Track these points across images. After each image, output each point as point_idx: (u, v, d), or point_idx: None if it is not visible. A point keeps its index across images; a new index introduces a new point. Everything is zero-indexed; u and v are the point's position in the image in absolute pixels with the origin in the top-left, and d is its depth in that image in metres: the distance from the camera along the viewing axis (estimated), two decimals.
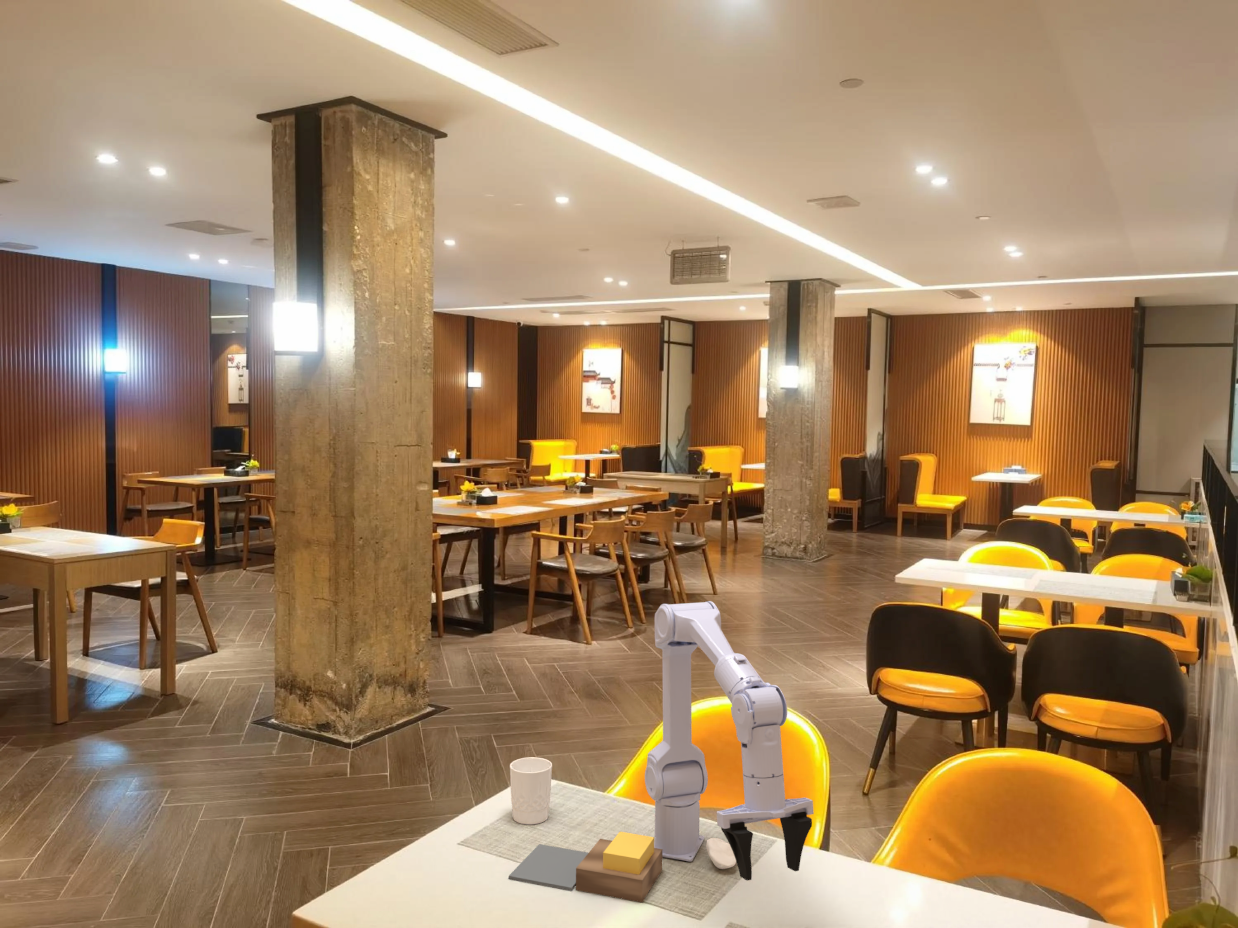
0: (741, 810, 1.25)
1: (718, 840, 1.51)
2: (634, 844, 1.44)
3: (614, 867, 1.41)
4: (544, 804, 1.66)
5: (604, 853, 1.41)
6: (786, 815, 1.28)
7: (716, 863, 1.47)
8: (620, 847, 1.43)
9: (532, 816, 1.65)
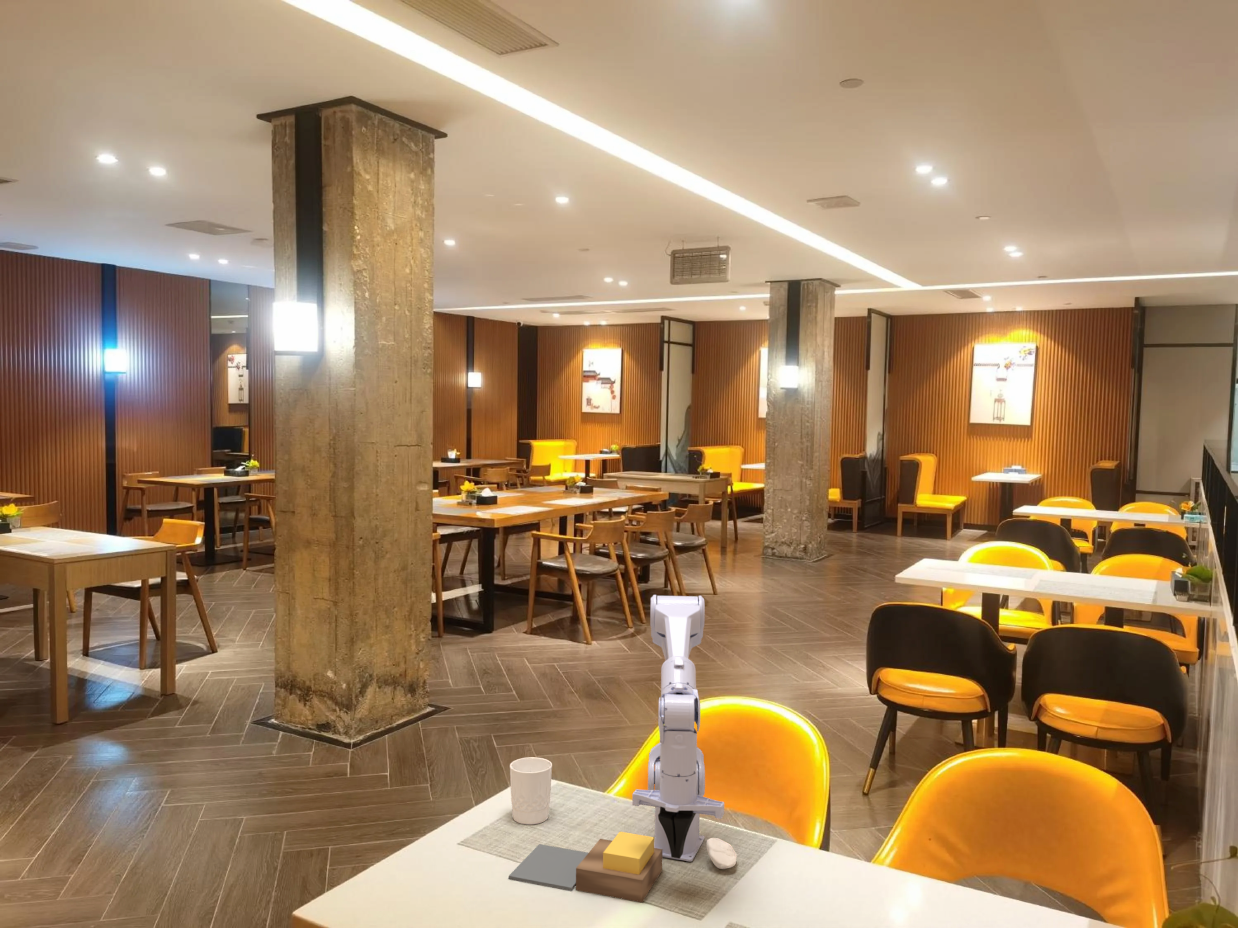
0: (654, 795, 1.42)
1: (718, 840, 1.51)
2: (634, 844, 1.44)
3: (614, 867, 1.41)
4: (544, 804, 1.66)
5: (604, 853, 1.41)
6: (696, 811, 1.40)
7: (716, 863, 1.47)
8: (620, 847, 1.43)
9: (532, 816, 1.65)
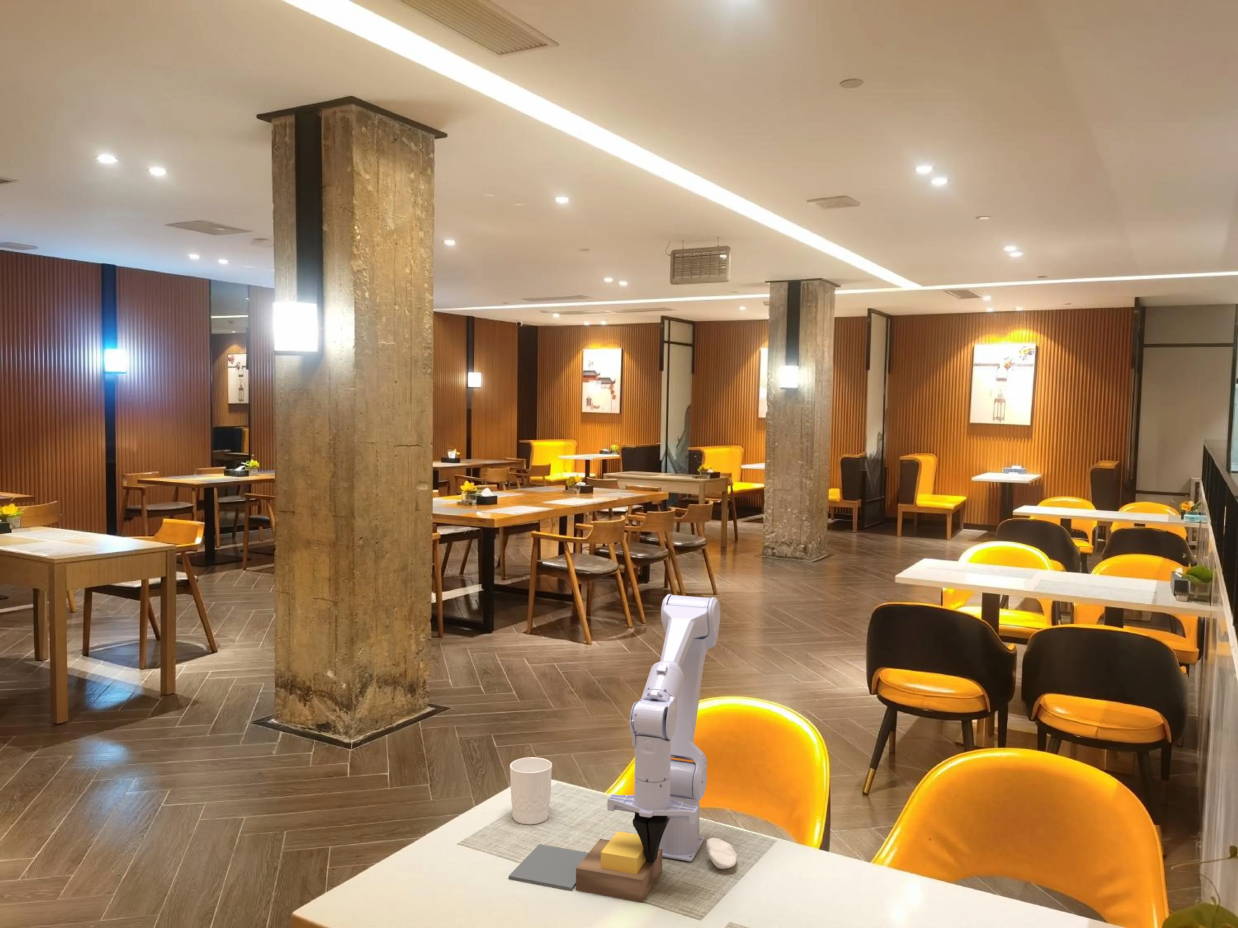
0: (628, 800, 1.44)
1: (718, 840, 1.51)
2: (632, 844, 1.44)
3: (612, 867, 1.41)
4: (544, 804, 1.66)
5: (602, 853, 1.41)
6: (670, 816, 1.41)
7: (716, 863, 1.47)
8: (618, 847, 1.43)
9: (532, 816, 1.65)
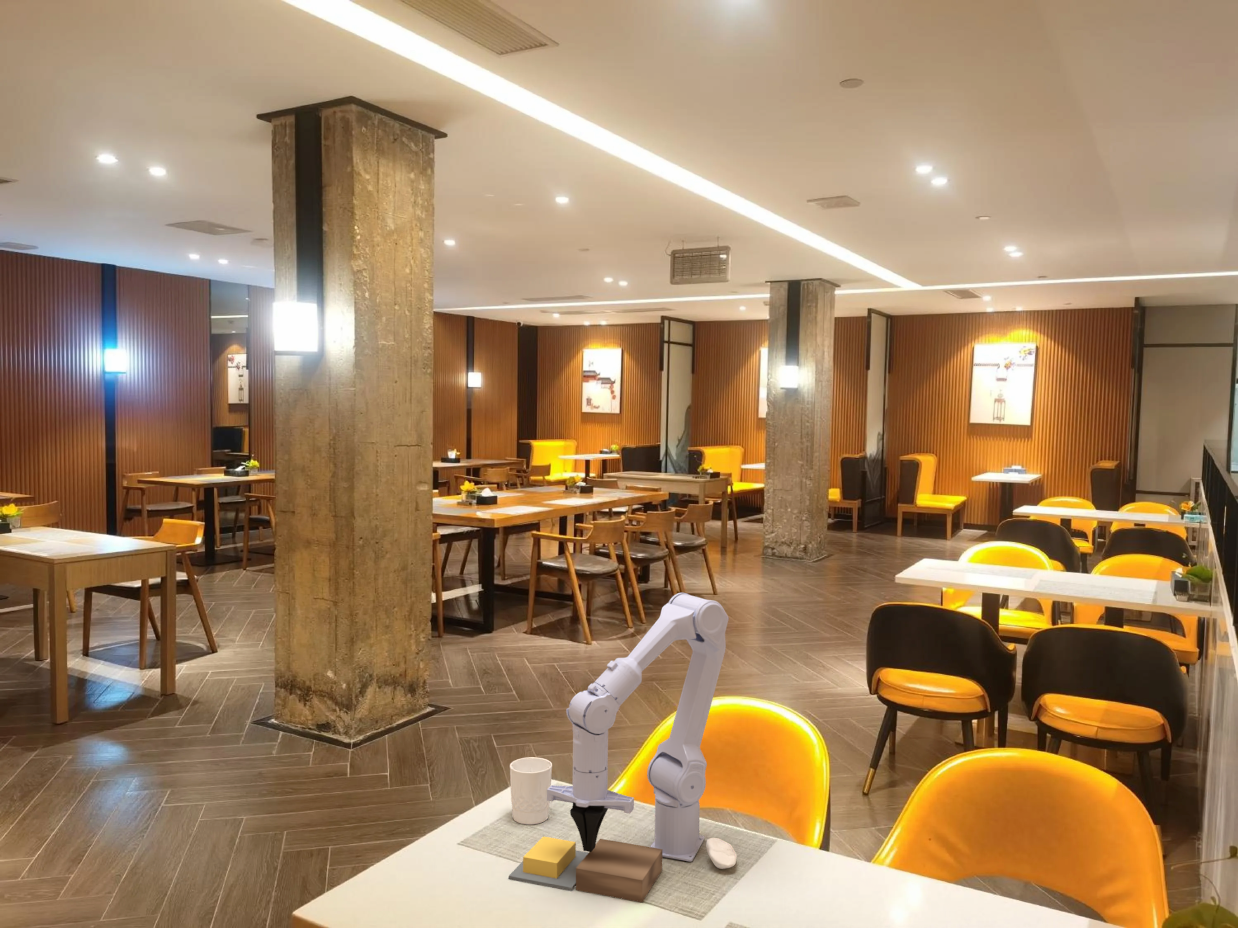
0: (567, 790, 1.47)
1: (718, 840, 1.51)
2: None
3: (546, 863, 1.45)
4: (544, 804, 1.66)
5: (555, 876, 1.44)
6: (607, 807, 1.45)
7: (716, 863, 1.47)
8: None
9: (532, 816, 1.65)
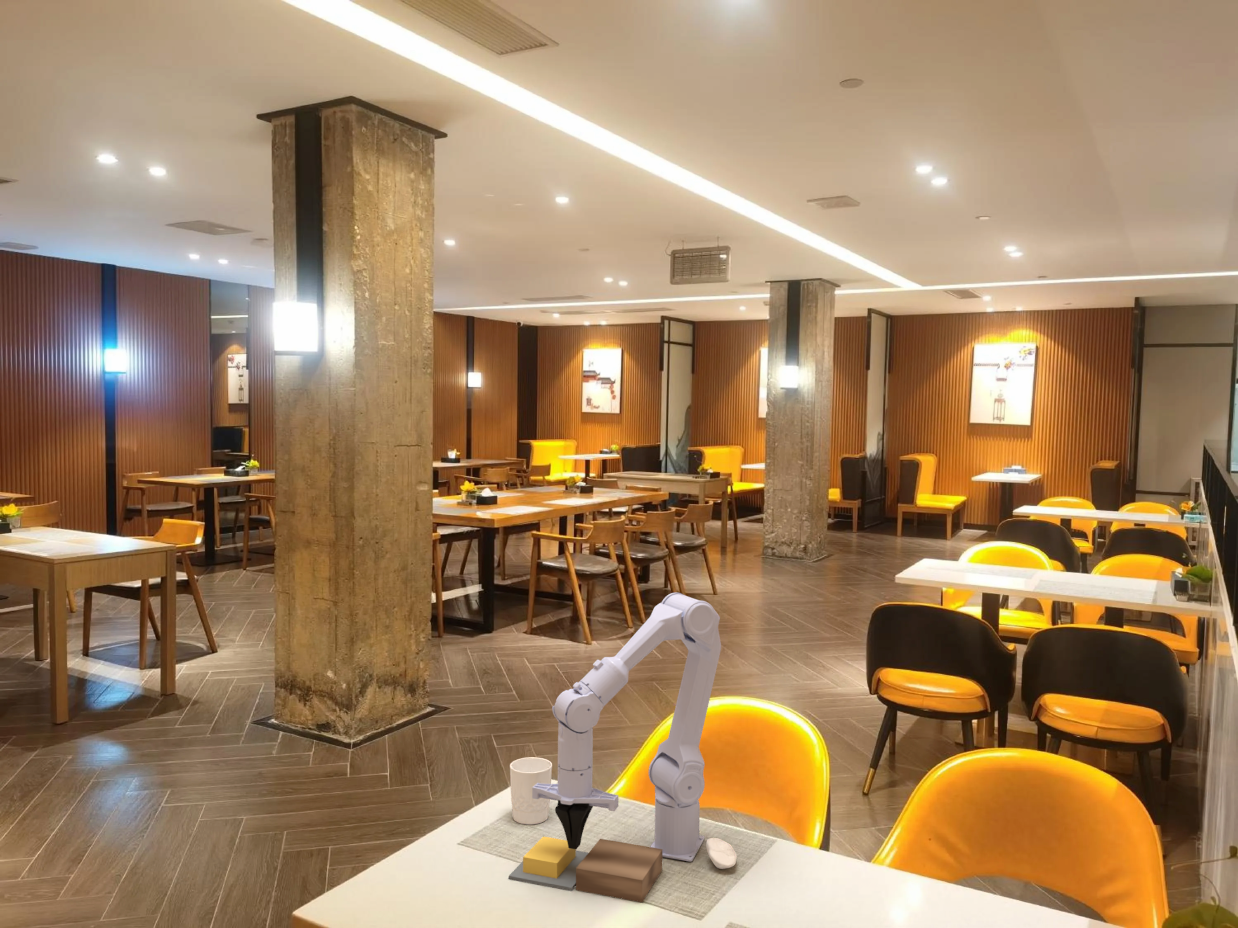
0: (552, 788, 1.48)
1: (718, 840, 1.51)
2: None
3: (546, 863, 1.45)
4: (544, 804, 1.66)
5: (555, 876, 1.44)
6: (592, 804, 1.46)
7: (716, 863, 1.47)
8: None
9: (532, 816, 1.65)
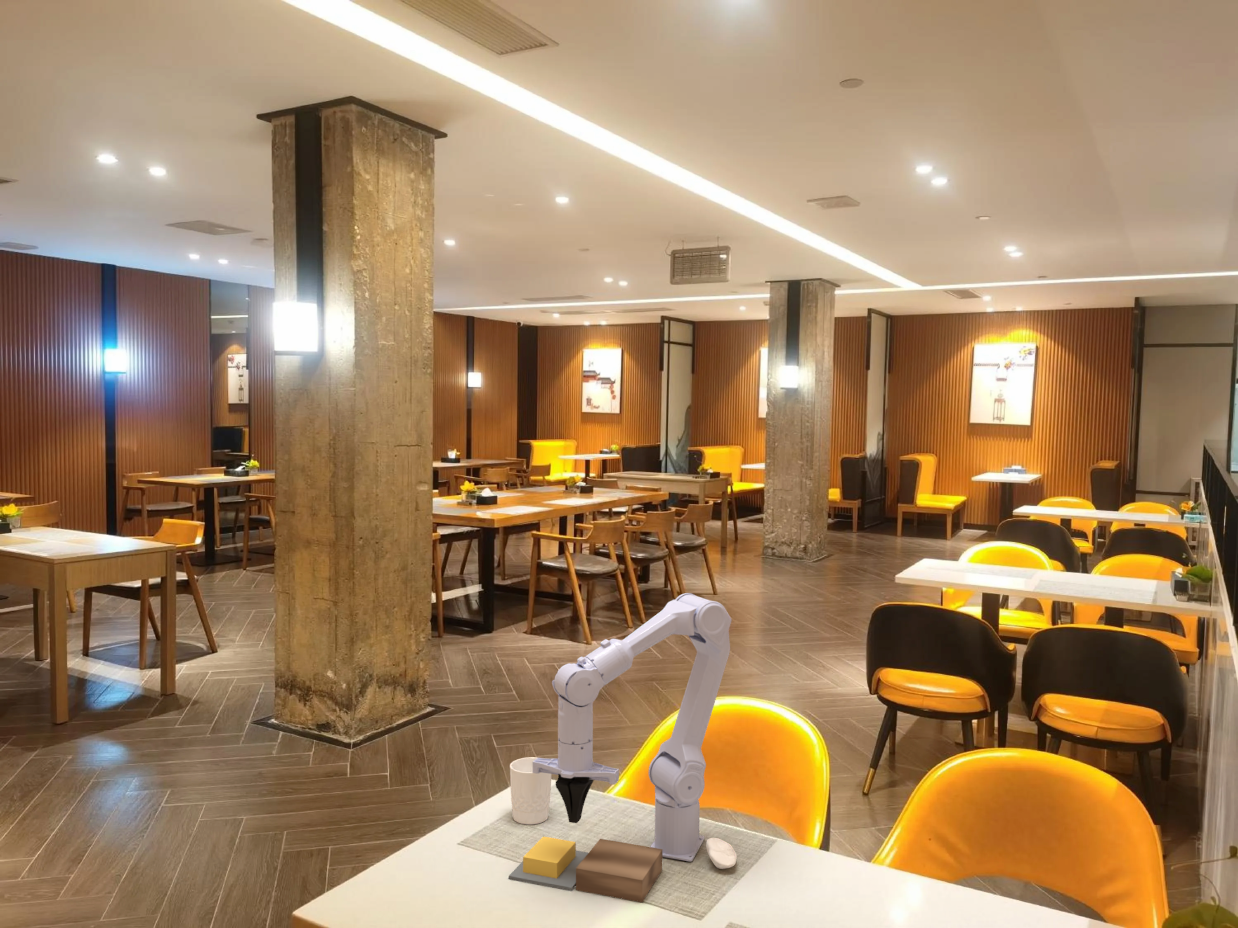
0: (553, 762, 1.48)
1: (718, 840, 1.51)
2: None
3: (546, 863, 1.45)
4: (544, 804, 1.66)
5: (555, 876, 1.44)
6: (592, 778, 1.46)
7: (716, 863, 1.47)
8: None
9: (532, 816, 1.65)
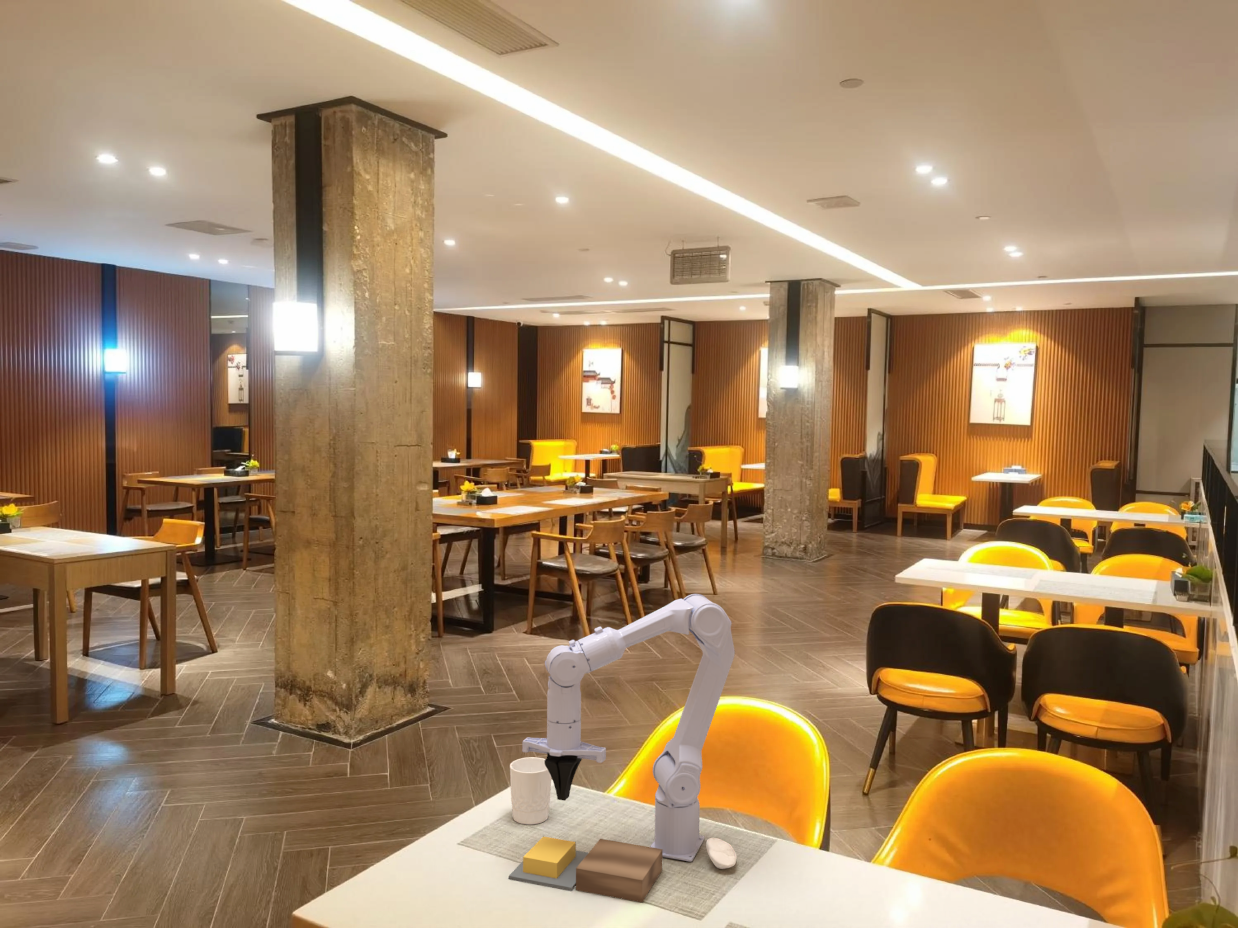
0: (542, 742, 1.52)
1: (718, 840, 1.51)
2: None
3: (546, 863, 1.45)
4: (544, 804, 1.66)
5: (555, 876, 1.44)
6: (580, 757, 1.50)
7: (716, 863, 1.47)
8: None
9: (532, 816, 1.65)
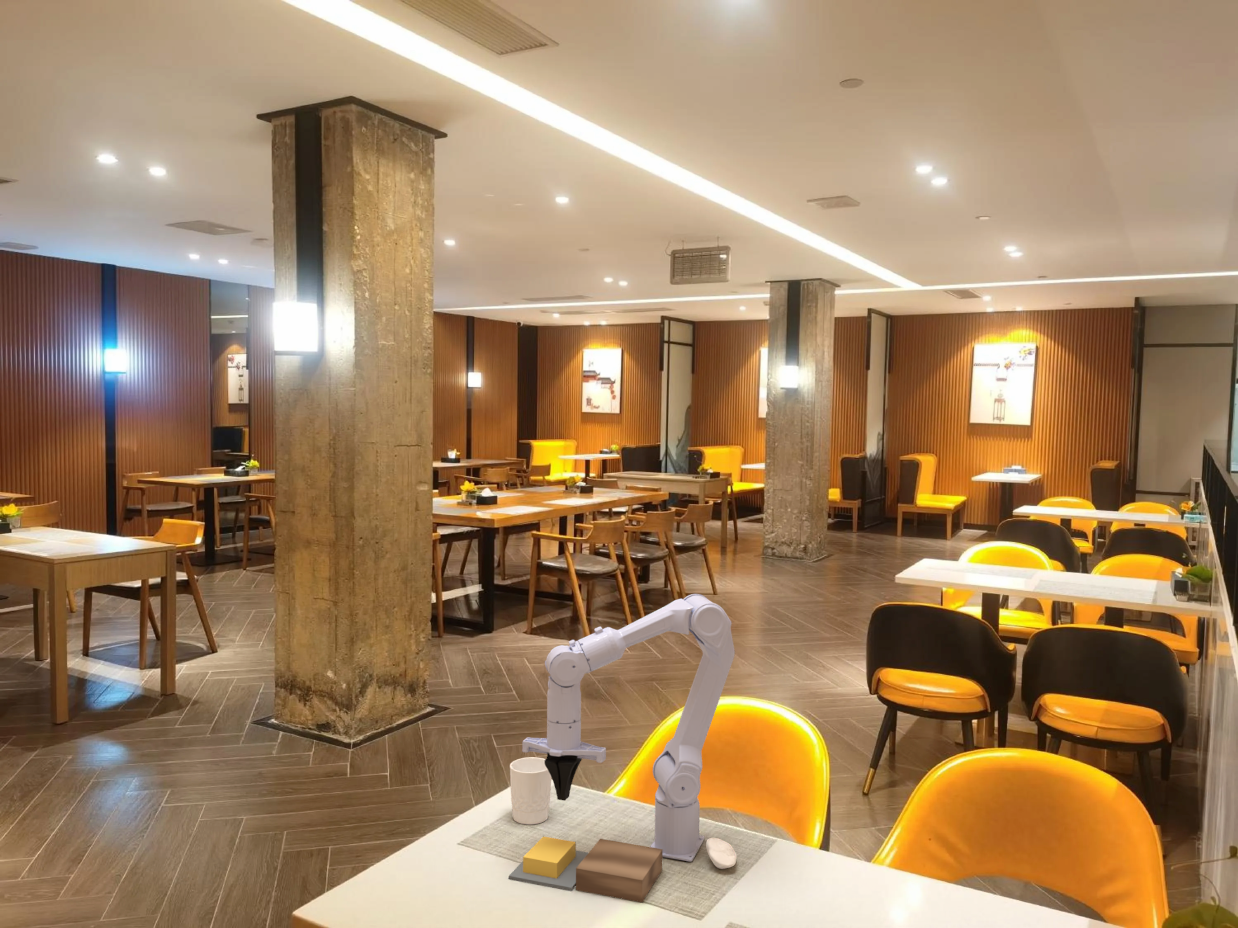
0: (542, 742, 1.52)
1: (718, 840, 1.51)
2: None
3: (546, 863, 1.45)
4: (544, 804, 1.66)
5: (555, 876, 1.44)
6: (580, 757, 1.50)
7: (716, 863, 1.47)
8: None
9: (532, 816, 1.65)
